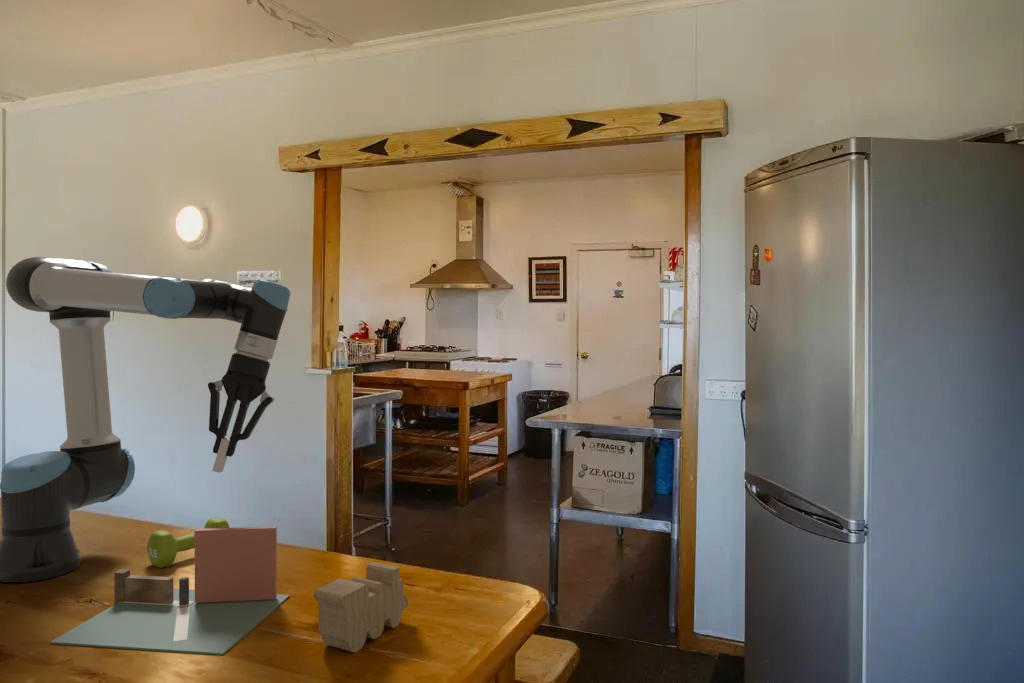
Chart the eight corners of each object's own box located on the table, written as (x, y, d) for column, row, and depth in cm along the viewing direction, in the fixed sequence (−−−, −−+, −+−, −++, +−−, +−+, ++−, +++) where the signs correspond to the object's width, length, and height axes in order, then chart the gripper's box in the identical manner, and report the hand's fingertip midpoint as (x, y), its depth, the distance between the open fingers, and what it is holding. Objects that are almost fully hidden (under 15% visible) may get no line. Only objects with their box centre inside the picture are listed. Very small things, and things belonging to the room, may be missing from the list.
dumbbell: (161, 572, 143) (161, 537, 143) (142, 564, 148) (142, 530, 148) (235, 552, 156) (235, 520, 156) (215, 545, 161) (215, 514, 161)
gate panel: (194, 602, 126) (194, 530, 126) (196, 600, 127) (196, 528, 127) (275, 598, 128) (275, 528, 128) (276, 596, 129) (276, 526, 129)
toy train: (408, 620, 121) (408, 562, 121) (341, 661, 106) (341, 596, 106) (382, 613, 123) (382, 557, 123) (313, 653, 108) (313, 589, 108)
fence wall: (114, 603, 127) (114, 572, 127) (121, 599, 129) (121, 569, 129) (185, 607, 125) (185, 576, 125) (191, 603, 127) (191, 572, 127)
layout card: (50, 643, 111) (50, 641, 111) (145, 588, 134) (145, 586, 134) (223, 655, 108) (223, 653, 107) (289, 596, 131) (289, 594, 131)
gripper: (215, 346, 137) (178, 465, 135) (281, 364, 139) (246, 481, 136) (224, 348, 145) (189, 461, 142) (287, 365, 146) (254, 476, 144)
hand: (217, 471), depth 139 cm, fingers closed
